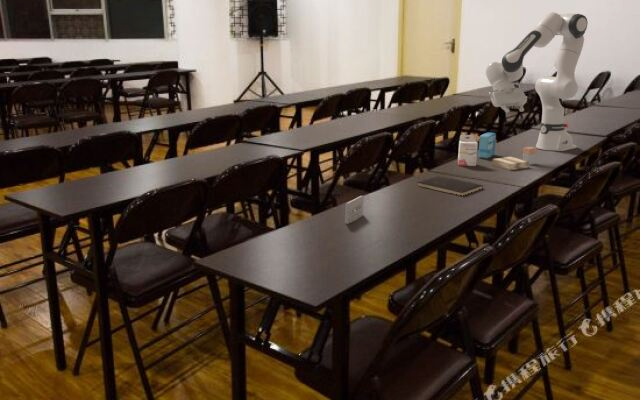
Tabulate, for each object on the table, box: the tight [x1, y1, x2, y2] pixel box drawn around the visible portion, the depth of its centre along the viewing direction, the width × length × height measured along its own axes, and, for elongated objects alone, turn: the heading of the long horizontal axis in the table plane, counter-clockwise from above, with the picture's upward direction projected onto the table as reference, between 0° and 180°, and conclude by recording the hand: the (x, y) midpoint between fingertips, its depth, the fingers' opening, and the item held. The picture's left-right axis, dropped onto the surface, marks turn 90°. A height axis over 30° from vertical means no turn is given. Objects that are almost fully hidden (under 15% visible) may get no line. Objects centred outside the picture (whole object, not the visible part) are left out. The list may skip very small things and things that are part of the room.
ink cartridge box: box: [457, 134, 479, 167], centre depth 291 cm, size 9×5×15 cm, turn 84°
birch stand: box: [491, 156, 530, 171], centre depth 289 cm, size 12×12×3 cm
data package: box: [478, 132, 497, 160], centre depth 308 cm, size 12×4×12 cm, turn 144°
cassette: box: [344, 195, 364, 225], centre depth 215 cm, size 12×2×8 cm, turn 147°
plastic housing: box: [522, 146, 538, 166], centre depth 293 cm, size 5×4×8 cm
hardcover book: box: [417, 175, 484, 197], centre depth 255 cm, size 16×23×2 cm
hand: (515, 111), depth 297 cm, fingers open, 8 cm apart
